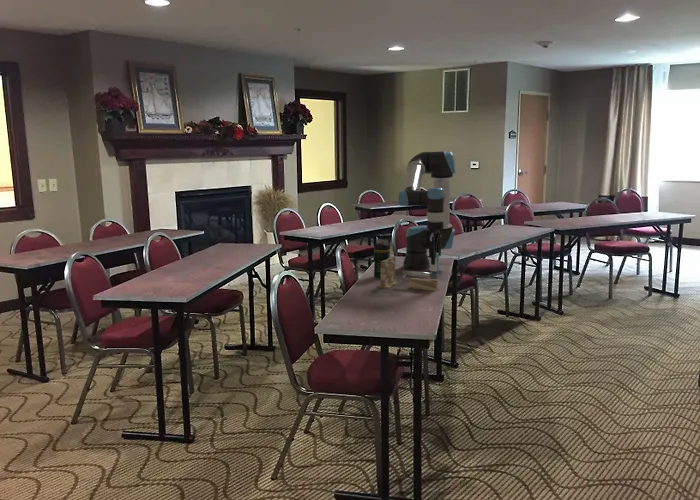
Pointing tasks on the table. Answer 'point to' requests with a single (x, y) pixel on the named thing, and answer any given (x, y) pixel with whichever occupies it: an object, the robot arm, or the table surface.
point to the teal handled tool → (423, 274)
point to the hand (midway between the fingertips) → (434, 270)
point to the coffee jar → (380, 256)
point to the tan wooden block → (388, 273)
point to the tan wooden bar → (424, 284)
